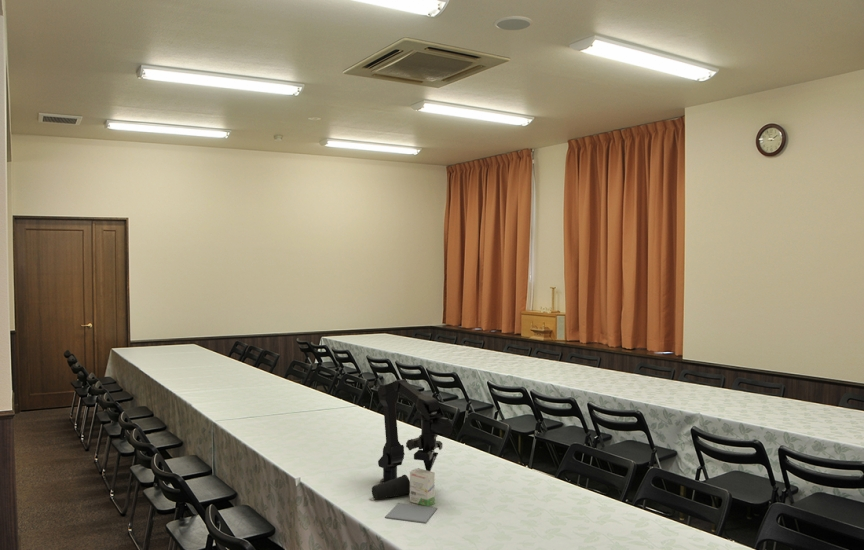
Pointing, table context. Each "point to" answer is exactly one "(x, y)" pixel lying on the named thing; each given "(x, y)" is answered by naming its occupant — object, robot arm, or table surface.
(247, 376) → the table surface
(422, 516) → the felt mat
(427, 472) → the ink box
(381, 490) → the drinking cup
